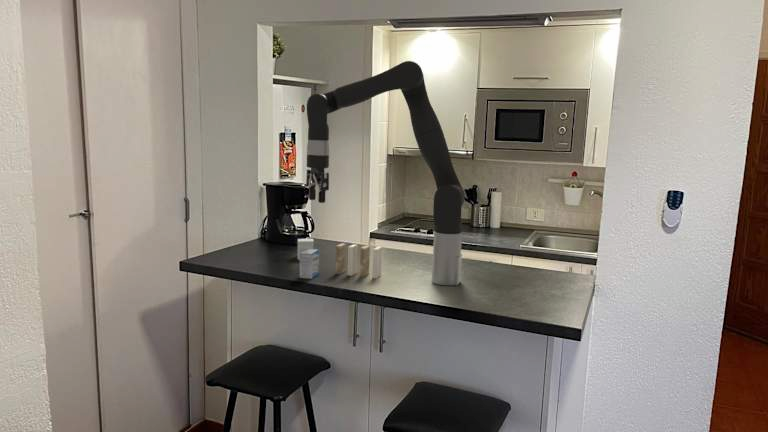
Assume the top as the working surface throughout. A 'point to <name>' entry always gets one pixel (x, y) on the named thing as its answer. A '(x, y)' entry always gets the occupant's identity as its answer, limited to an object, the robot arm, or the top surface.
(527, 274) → the top surface
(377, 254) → the domino
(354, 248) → the domino
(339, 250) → the domino
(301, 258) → the medicine box
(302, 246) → the skincare box
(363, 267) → the domino
